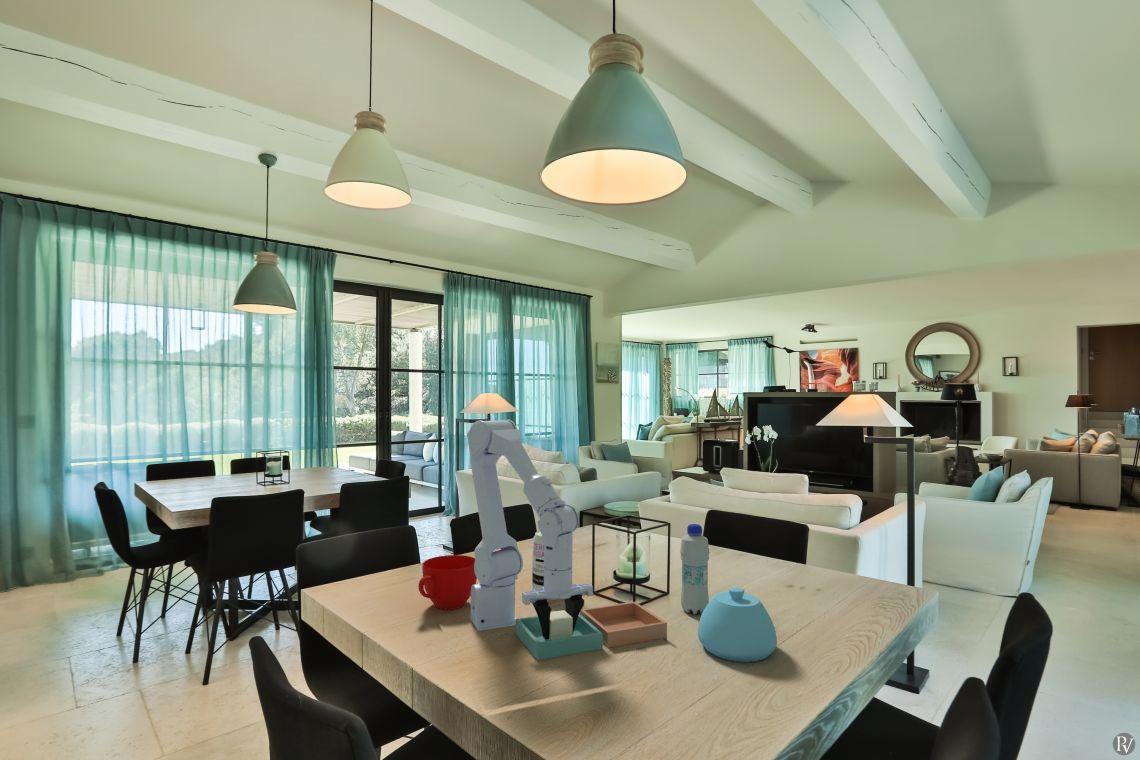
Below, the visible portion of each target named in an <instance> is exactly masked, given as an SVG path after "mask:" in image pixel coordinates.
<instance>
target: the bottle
mask: <svg viewBox="0 0 1140 760" xmlns="http://www.w3.org/2000/svg"><path fill="white" fill-rule="evenodd" d="M686 528H687V529H686V530H687V531H686V532H687V533H686V535H683V536H682V537H681V542H680V548H679V551H680V556H679V557H680V559H681V591H680V605H681V608H682V610H683V611H685V613H686V614H690V613H691V611H692V614H693V615H697V613H698V611H699V614H700V615H702V613H703V611H704V609H705V608H706V606H707V605H708V603H709V602H710V601H709V597H710V596H709V595H710V594H709V580H708V579H709V578H708V577H709V575H708V574H709V573H708V572H709V571H708V567H709V565H708V564H709V563H708V562H709V560H710V548H709V540H708V538H707V537H705V536H704V535H703V528H702V525H701V524H697V523H690V524H688V526H687V527H686Z"/></svg>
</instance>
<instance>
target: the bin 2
mask: <svg viewBox="0 0 1140 760" xmlns="http://www.w3.org/2000/svg"><path fill="white" fill-rule="evenodd" d="M579 614H580V615H582V616H583V617H584V618H585V619H586V620H587V621H589V622H590V623H591V624H592V625H593V626H595V627H596V628H597V629H598V630H599V631H600V632H602V633H603V645H604V646H605V647H606V648H607V649H609V648H615V647H620V646H621V647H622V646H627V645H632V644H637V643H644V642H649V641H655V640H661V639H662V640H663V641H667V640H668V622H666V621H665V620H663V619H662V618H661V617H659V616H657V615H656V614H654V613H653V612H651V611H650V610H648V609H647V608H646V607H644V606H642V605H641V604H639V603H637V602H636V601H630V602H623V603H617V604H616V603H615V604H610V605H602V606H596V607H590V608H582V609H581V611H580V613H579Z"/></svg>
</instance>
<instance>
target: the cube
mask: <svg viewBox="0 0 1140 760" xmlns="http://www.w3.org/2000/svg"><path fill="white" fill-rule="evenodd" d="M549 627H550V635H549V639H547V640H546V639H545V638H544V637H543V638H544V639H545V641H550V640H556V639H562V638H568V637H573V618H572V617H571V616H570V615H569V614H568V613H567V612H566V609H564V610H556V611H551V614H550V623H549Z"/></svg>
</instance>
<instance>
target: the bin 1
mask: <svg viewBox="0 0 1140 760" xmlns="http://www.w3.org/2000/svg"><path fill="white" fill-rule="evenodd" d="M515 635H516V636H517V638H518V639H519V640H520V641H521V643H522V644H523V645H524V646H525V647H526V649H528V651H529V653H531V655H532V656H533V657H534V658H535V659H536V661H540V660H541V661H542V660H547V659H554V658H559V657H563V656H564V657H565V656H570V655H575V654H582V653H587V652H591V651H599V650H603V648H604V647H603V645H604V644H603V633H602V632H600V631H599V630H598V629H597V628H596V627H595V626H593V625H592V624H591V623H590V622H589V621H587V620H586V619H585V618H584V617H583V616H582V615H580V613H579V615H578V618H577V621H576V624H575V628H574V632H573V637H568V638H562V639H556V640H550V641H545V639H544V638H543V636H542V629H541V625H540V621H539V618H538V615H534V616H527V617H520V618H517V619H516V625H515Z"/></svg>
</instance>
